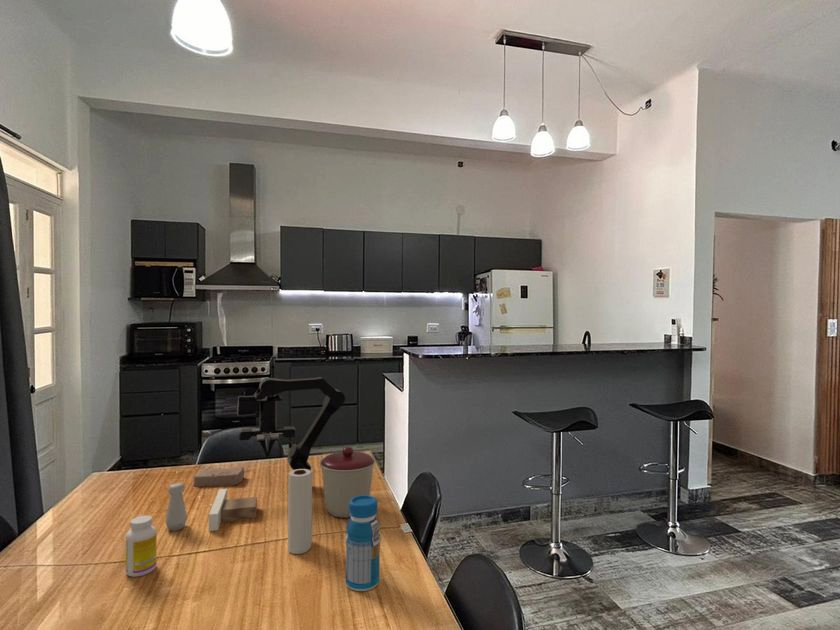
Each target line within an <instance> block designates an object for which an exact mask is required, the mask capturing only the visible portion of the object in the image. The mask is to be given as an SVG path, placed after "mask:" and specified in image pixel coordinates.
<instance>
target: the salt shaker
mask: <svg viewBox="0 0 840 630" xmlns="http://www.w3.org/2000/svg"><path fill="white" fill-rule="evenodd" d="M185 489H186V488H185V484H184V483H182V482H177V483H176V482H175V483H173V484H170V485H169V486H168V494H170V496H169V501H168V508H167V510H166V515H165V516H166V517H165V521H164V522H165V525H166V527H167V529H168V530H169V531H172V532H175V531H180V530H181V529H183V528H184V527H185V525H186V522H187V520H188V515H187V510H186V509H187V508H186V505H185V500H184V496H183V493H184V491H185Z"/></svg>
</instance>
